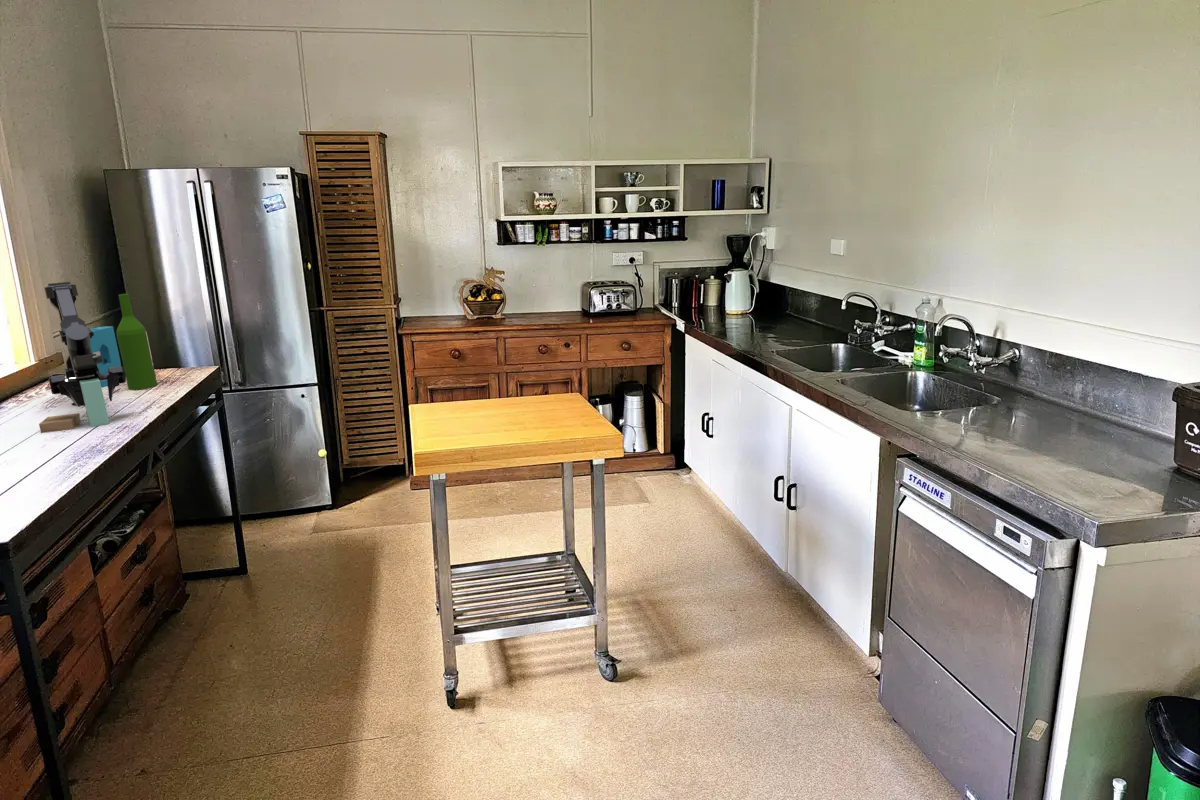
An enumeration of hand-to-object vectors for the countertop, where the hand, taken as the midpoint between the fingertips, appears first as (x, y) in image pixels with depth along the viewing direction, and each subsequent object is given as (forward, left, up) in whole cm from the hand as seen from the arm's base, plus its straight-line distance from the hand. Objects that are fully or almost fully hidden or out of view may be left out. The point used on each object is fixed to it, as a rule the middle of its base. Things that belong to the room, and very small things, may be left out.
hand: (95, 403), depth 223 cm
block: (-52, -32, -7) cm, 61 cm away
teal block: (-1, -1, -7) cm, 7 cm away
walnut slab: (+1, -11, -7) cm, 13 cm away
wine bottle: (-46, -15, -7) cm, 49 cm away
